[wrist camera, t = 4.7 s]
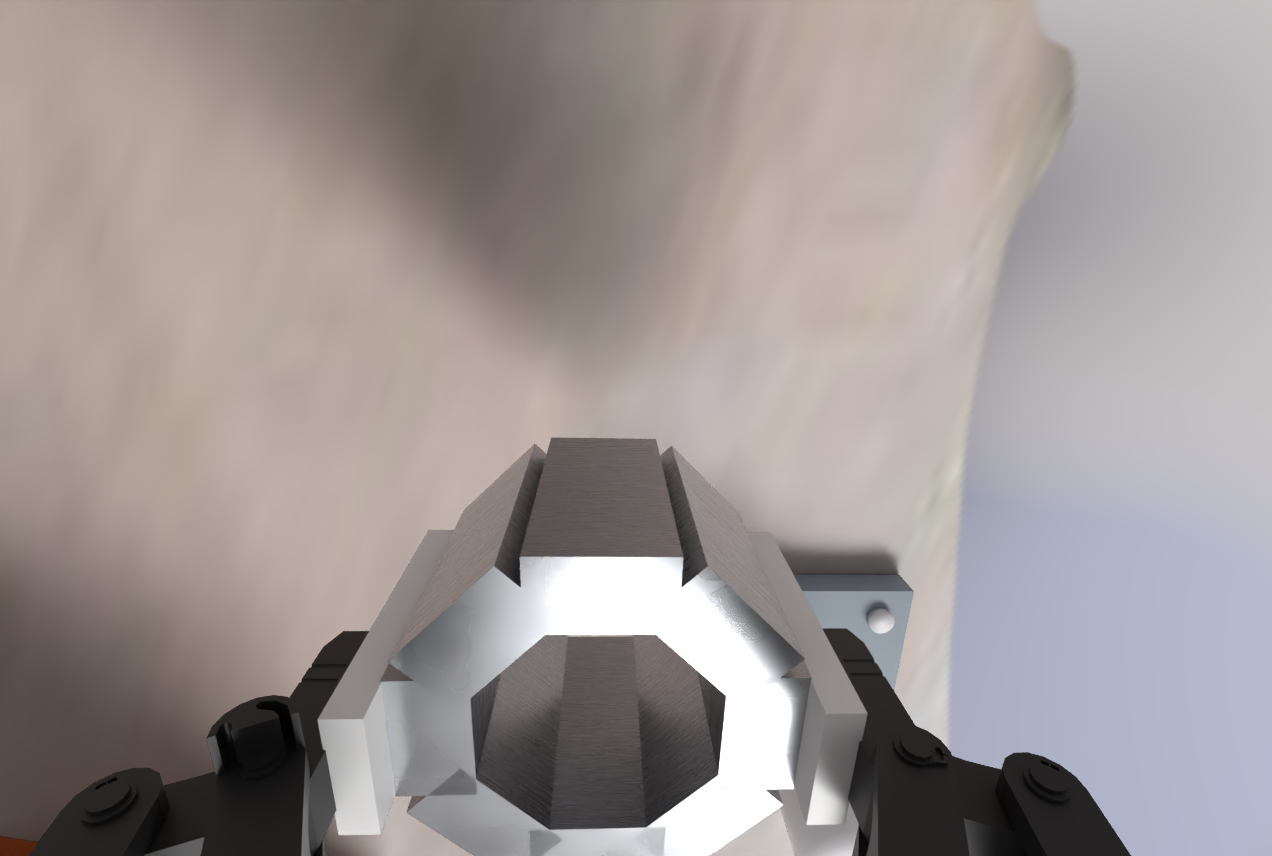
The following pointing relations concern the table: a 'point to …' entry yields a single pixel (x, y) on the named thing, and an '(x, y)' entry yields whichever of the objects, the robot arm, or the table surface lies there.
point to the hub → (596, 665)
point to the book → (15, 847)
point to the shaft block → (880, 623)
